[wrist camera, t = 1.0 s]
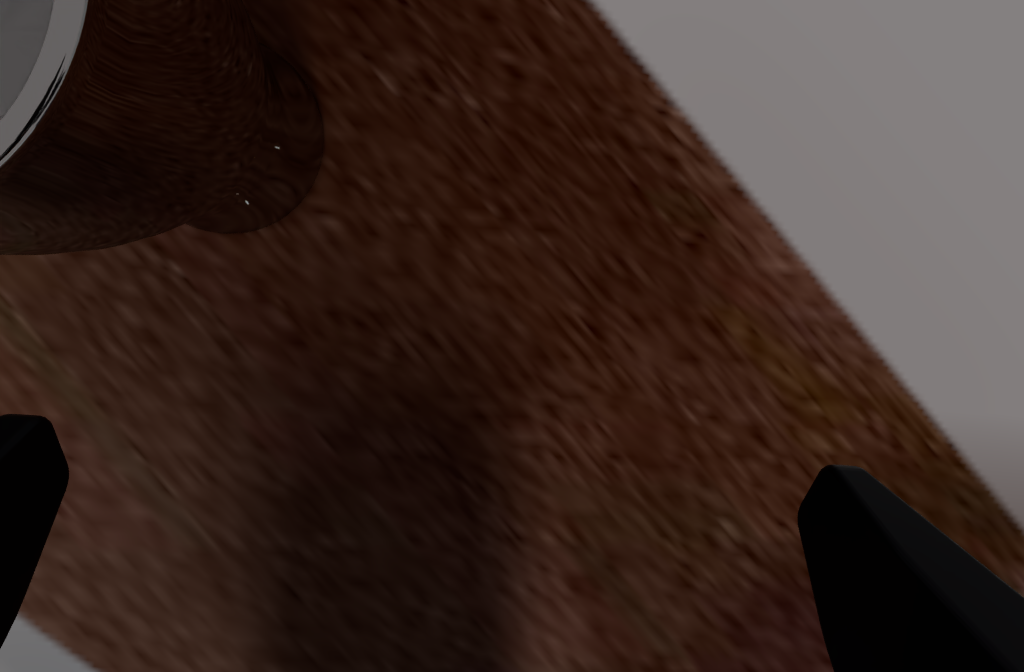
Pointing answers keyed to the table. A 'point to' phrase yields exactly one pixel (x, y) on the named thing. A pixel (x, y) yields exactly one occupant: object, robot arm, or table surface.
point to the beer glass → (145, 123)
